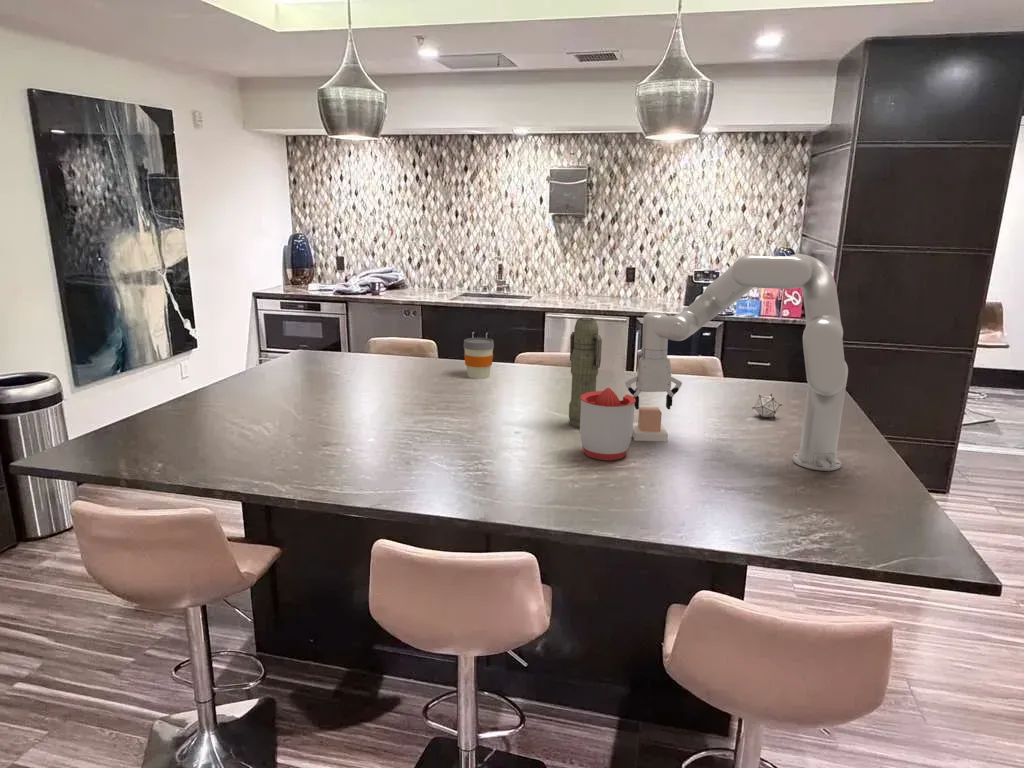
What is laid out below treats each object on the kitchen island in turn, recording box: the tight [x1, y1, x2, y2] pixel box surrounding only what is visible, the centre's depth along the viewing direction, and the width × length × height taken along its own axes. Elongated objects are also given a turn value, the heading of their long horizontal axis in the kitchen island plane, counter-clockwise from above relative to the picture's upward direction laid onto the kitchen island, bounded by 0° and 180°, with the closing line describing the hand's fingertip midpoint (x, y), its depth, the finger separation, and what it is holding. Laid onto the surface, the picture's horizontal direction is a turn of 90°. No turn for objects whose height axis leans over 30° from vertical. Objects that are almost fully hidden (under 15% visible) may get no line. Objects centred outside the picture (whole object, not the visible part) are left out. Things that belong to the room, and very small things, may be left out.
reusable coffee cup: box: [462, 337, 495, 380], centre depth 292 cm, size 13×13×15 cm
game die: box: [751, 393, 783, 420], centre depth 242 cm, size 9×8×10 cm
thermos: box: [568, 317, 603, 430], centre depth 228 cm, size 9×12×35 cm
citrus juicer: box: [579, 387, 636, 462], centre depth 203 cm, size 16×17×20 cm
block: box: [632, 422, 669, 443], centre depth 222 cm, size 10×10×2 cm
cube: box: [637, 406, 662, 432], centre depth 220 cm, size 6×6×6 cm
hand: (652, 408), depth 219 cm, fingers open, 9 cm apart
